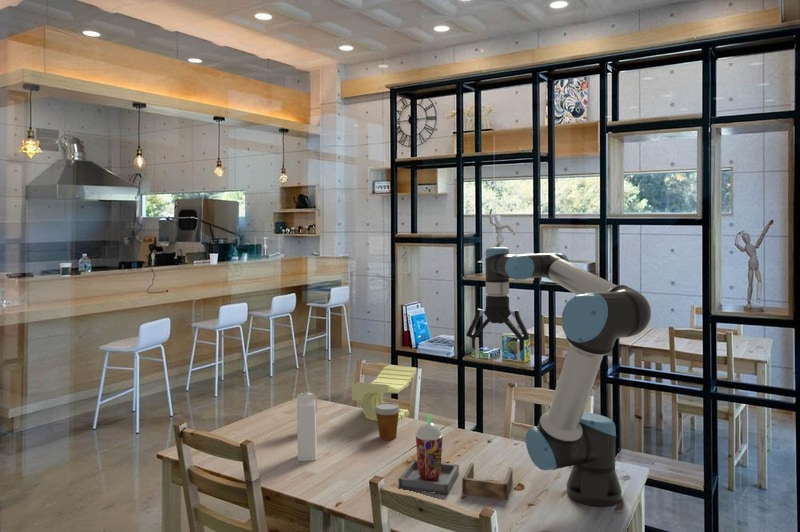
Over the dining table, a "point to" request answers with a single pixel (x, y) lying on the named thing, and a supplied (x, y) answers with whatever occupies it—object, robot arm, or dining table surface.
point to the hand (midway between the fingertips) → (497, 359)
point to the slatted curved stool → (383, 389)
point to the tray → (441, 485)
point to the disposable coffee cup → (387, 420)
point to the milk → (306, 427)
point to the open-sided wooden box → (486, 485)
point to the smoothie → (429, 451)
